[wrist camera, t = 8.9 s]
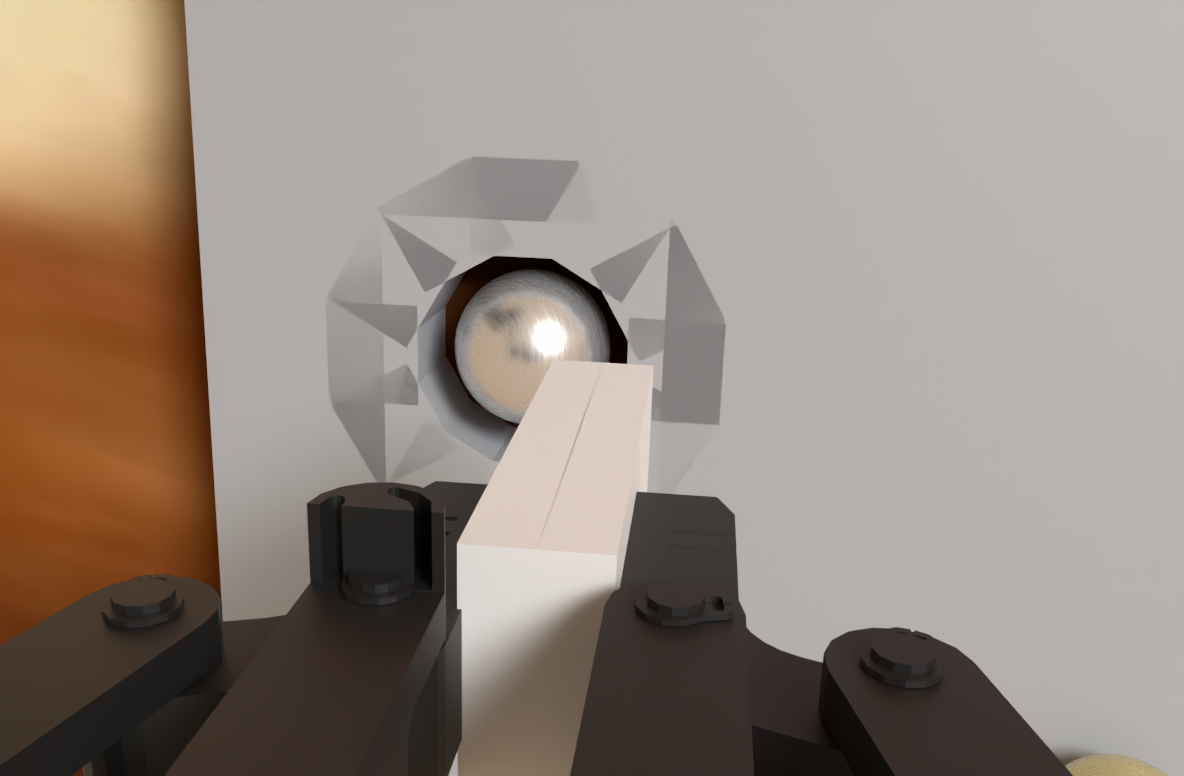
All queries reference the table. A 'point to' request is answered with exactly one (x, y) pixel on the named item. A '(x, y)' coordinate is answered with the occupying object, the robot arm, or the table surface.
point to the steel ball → (525, 337)
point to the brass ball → (1112, 766)
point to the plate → (741, 298)
